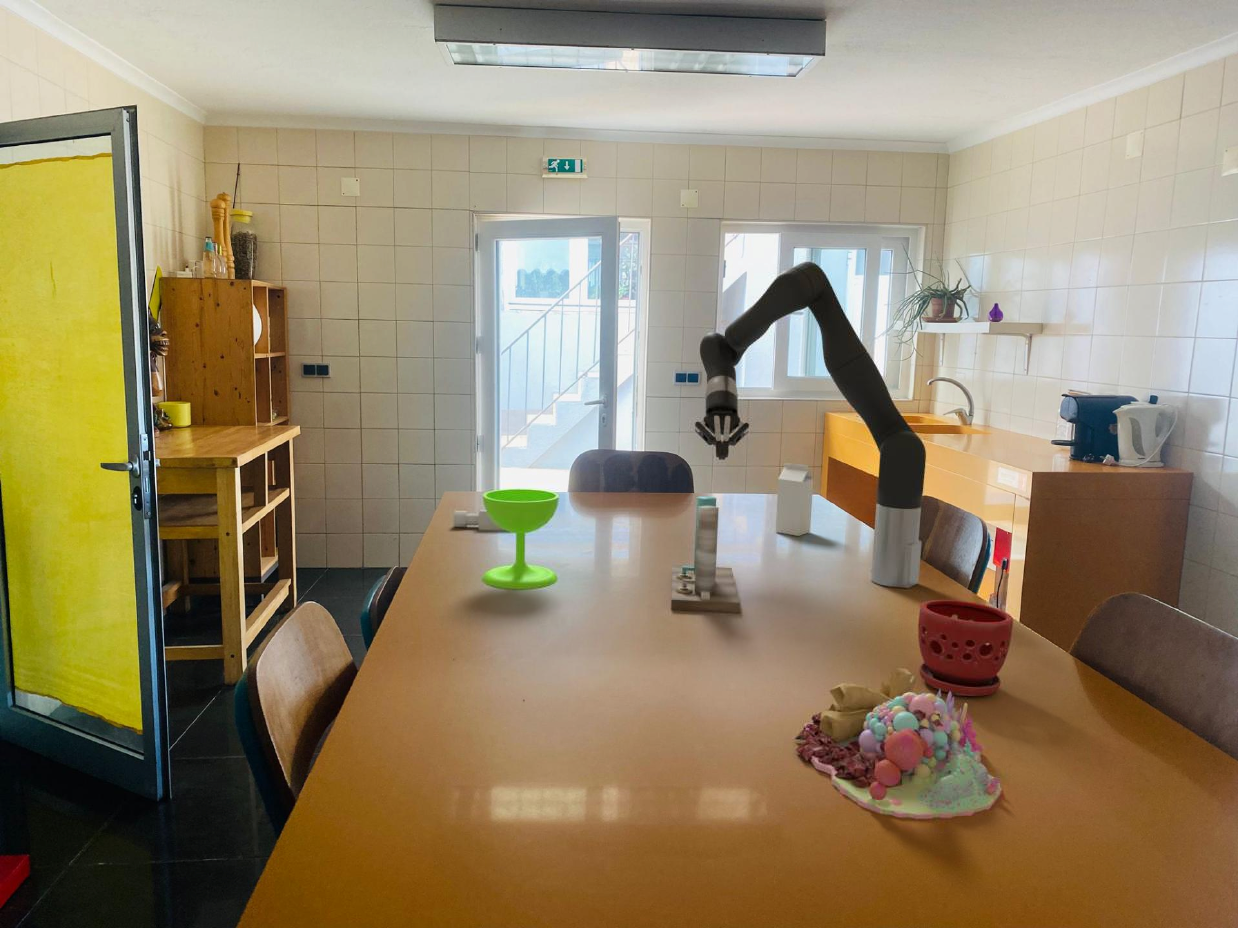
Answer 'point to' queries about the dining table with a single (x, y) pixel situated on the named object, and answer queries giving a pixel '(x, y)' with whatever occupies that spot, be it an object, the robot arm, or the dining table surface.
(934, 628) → the plant pot
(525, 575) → the wineglass
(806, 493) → the milk carton
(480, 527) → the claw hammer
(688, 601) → the gauge board
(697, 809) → the dining table surface
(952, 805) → the pastel sphere sculpture
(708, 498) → the teal lever handle
